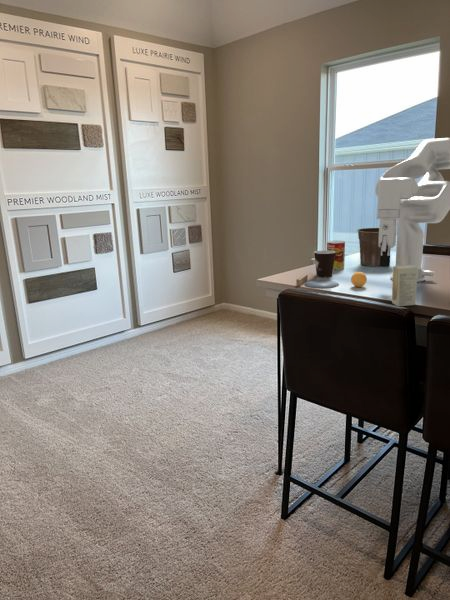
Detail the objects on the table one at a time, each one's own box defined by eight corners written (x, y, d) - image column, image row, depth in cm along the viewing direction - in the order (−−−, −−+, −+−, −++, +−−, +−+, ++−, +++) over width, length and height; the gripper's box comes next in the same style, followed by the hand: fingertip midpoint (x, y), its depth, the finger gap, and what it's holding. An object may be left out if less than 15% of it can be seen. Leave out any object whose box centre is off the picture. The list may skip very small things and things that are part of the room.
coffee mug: (335, 277, 185) (335, 253, 182) (313, 277, 187) (314, 253, 184) (334, 272, 196) (334, 249, 193) (314, 272, 198) (314, 249, 195)
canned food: (324, 267, 208) (324, 241, 205) (340, 266, 209) (341, 240, 206) (329, 270, 201) (330, 243, 198) (346, 269, 201) (347, 242, 198)
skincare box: (410, 302, 145) (412, 264, 142) (416, 305, 141) (418, 267, 138) (390, 302, 145) (392, 265, 142) (395, 306, 141) (398, 268, 138)
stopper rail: (307, 280, 182) (307, 274, 181) (300, 286, 173) (300, 279, 172) (304, 280, 182) (304, 274, 182) (296, 285, 174) (296, 279, 173)
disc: (342, 281, 177) (342, 281, 177) (334, 289, 166) (334, 288, 166) (309, 279, 183) (309, 279, 183) (300, 286, 172) (300, 286, 171)
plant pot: (395, 267, 200) (397, 231, 196) (358, 268, 203) (359, 232, 199) (388, 261, 216) (390, 227, 212) (354, 261, 218) (355, 228, 214)
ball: (367, 285, 169) (368, 271, 168) (365, 288, 164) (365, 273, 163) (352, 284, 172) (352, 270, 170) (349, 287, 167) (349, 273, 166)
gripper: (397, 215, 149) (393, 270, 153) (401, 213, 162) (398, 264, 166) (373, 215, 152) (370, 269, 157) (380, 213, 165) (376, 263, 170)
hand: (384, 266), depth 161 cm, fingers closed
